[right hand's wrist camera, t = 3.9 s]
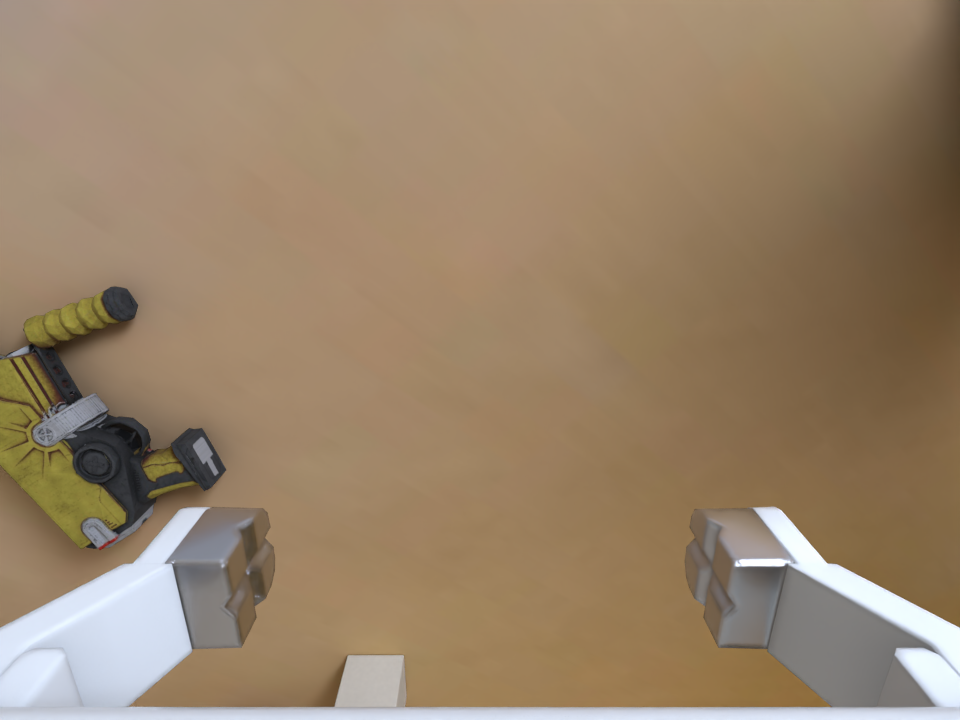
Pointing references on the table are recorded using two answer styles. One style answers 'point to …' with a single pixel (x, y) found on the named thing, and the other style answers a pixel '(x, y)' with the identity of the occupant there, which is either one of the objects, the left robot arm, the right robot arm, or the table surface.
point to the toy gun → (87, 435)
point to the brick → (373, 682)
